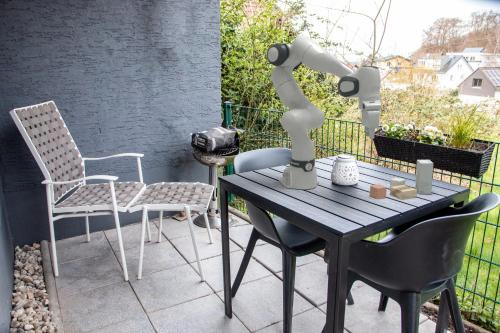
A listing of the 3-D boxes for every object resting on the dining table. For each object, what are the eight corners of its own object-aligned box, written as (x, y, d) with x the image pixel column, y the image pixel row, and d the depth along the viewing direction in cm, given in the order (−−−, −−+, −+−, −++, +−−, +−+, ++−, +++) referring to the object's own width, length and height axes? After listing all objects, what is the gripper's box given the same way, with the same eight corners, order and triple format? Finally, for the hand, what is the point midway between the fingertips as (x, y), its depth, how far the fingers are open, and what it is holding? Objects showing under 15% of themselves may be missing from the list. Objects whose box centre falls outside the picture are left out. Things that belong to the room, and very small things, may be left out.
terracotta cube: (369, 196, 174) (370, 185, 173) (378, 194, 176) (379, 184, 175) (377, 199, 170) (377, 188, 169) (385, 197, 172) (386, 187, 170)
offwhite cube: (389, 189, 184) (390, 179, 183) (395, 187, 187) (396, 177, 185) (398, 191, 180) (399, 181, 179) (404, 189, 183) (405, 179, 182)
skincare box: (431, 194, 174) (434, 163, 171) (417, 194, 176) (420, 162, 172) (427, 189, 182) (430, 159, 179) (414, 188, 184) (416, 158, 180)
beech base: (389, 195, 176) (390, 186, 175) (403, 193, 178) (404, 184, 177) (402, 200, 168) (402, 191, 167) (416, 198, 171) (417, 189, 170)
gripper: (358, 104, 169) (358, 135, 172) (365, 105, 149) (366, 140, 152) (372, 103, 168) (372, 134, 171) (382, 104, 148) (382, 140, 151)
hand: (369, 137), depth 161 cm, fingers open, 8 cm apart
